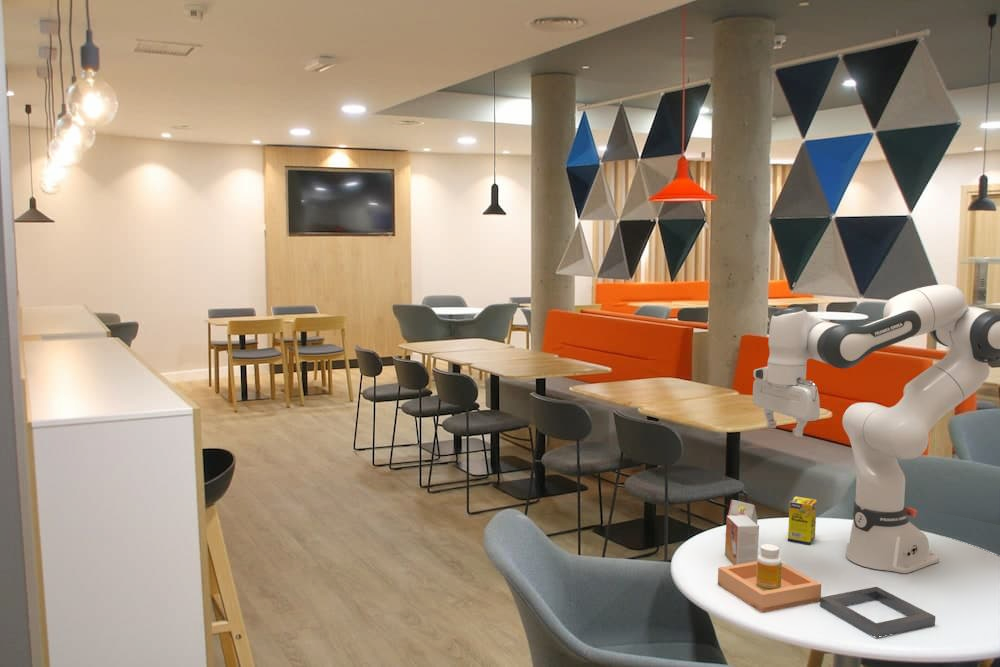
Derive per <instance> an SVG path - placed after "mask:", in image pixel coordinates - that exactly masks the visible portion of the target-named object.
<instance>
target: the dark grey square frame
mask: <svg viewBox="0 0 1000 667" xmlns="http://www.w3.org/2000/svg"><path fill="white" fill-rule="evenodd" d="M872 600H873V601H877V600H878V601H877V602H879V601H880V602H879V603H881V604H883V605H885V606H887V607H889V608H891V609H892V608H893V609H892V610H895V611H896V612H899V613H900V614H902V615H904V617H899V618H895V619H890V620H885V621H880V622H875V621H873V620H872V619H870V618H867V617H866V616H864V615H862V614H860V613H859V612H857V611H855V610H853V609H852V608H850V607H848V606H852V605H858V604H862V603H867V601H868V602H873V601H872ZM819 606H820V608H823V609H824V610H826V611H828V612H829V613H831V614H833V615H835V616H836V617H837V618H839V619H841V620H843V621H845V622H847V623H848V624H849V625H852V626H853V627H855V628H856V629H859V630H861V631H862V632H864V633H865V632H866V634H867V633H868V634H867V635H869V634H870V635H869V636H871V635H872V636H875V637H879V636H885V635H889V636H891V635H890V634H894V635H897V634H896V633H898V634H902V633H901V632H903V633H906V632H907V633H908V632H911V631H917V630H921V629H924V628H925V629H926V628H929V627H930V628H931V627H933V626H936V615H934V614H931V613H930V612H928V611H926V610H924V609H922V608H920V607H918V606H916V605H914V604H912V603H910V602H908V601H906V600H904V599H902V598H900V597H898V596H897V595H894V594H893V593H890V592H888V591H886V590H884V589H883V588H880V587H879V586H873V587H867V588H863V589H862V588H861V589H857V590H852V591H851V590H850V591H846V592H842V593H837V594H831V595H827V596H821V597H820V601H819ZM872 636H871V637H872ZM885 637H886V636H885Z"/></svg>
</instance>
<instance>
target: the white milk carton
mask: <svg viewBox="0 0 1000 667" xmlns="http://www.w3.org/2000/svg"><path fill="white" fill-rule="evenodd" d="M729 504H730V505H729V509H728V512H727V513H728V514H727V516H739V515H747V516H748V517H749V518H750V519H751V520H752V521H754V522H755V523H756V524H757V525H758V515H757V512H756V511H757V510H756V505H755V504H752V503H748V502H743V501H740V500H735V499H731V500H730V503H729Z"/></svg>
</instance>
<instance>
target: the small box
mask: <svg viewBox="0 0 1000 667" xmlns="http://www.w3.org/2000/svg"><path fill="white" fill-rule="evenodd" d="M725 522H726V523H725V524H726V526H725V541H724V542H725V545H724V555H725V556H726V557H727V558H728V559H729V560H730V561H731V562H732V564H733V565H737V564H743V563H749V562H755V561H757V557H758V555H759V537H760V525H758V523H757V524H756V523H755V522H754V521H752V520H751V519H750V518H749V517H748V516H747V515H739V516H728V515H726V520H725Z"/></svg>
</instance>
